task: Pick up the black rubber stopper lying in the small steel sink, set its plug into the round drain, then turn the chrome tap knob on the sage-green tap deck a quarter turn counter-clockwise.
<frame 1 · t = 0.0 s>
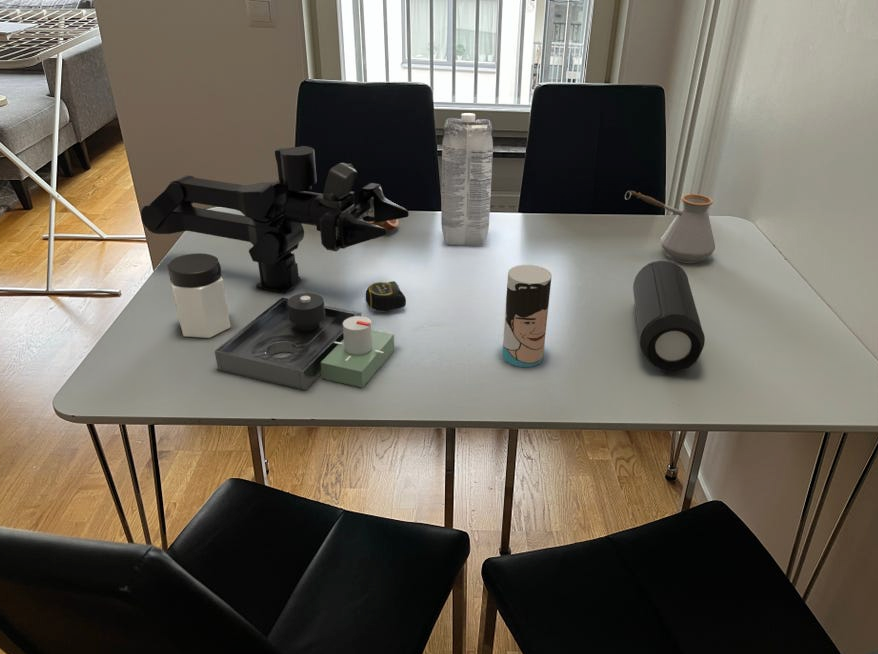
hand: (397, 222, 121), 17 cm above the table, tool horizontal, fingers open, 9 cm apart
cup: (522, 357, 117), on the table
tape measure: (388, 306, 131), on the table
stopper: (308, 325, 119), point 2 cm above the table, touching sink
tap knob: (357, 334, 110), point 5 cm above the table, hinge at 0.0°
jar: (205, 327, 122), on the table
sink: (293, 349, 117), resting in sink rim
fruit slice: (383, 231, 161), on the table
coffee pot: (663, 257, 153), on the table
portable speaker: (660, 338, 123), on the table
tap deck: (359, 363, 113), on the table
sink rim: (293, 349, 117), on the table
juice carton: (464, 240, 158), on the table
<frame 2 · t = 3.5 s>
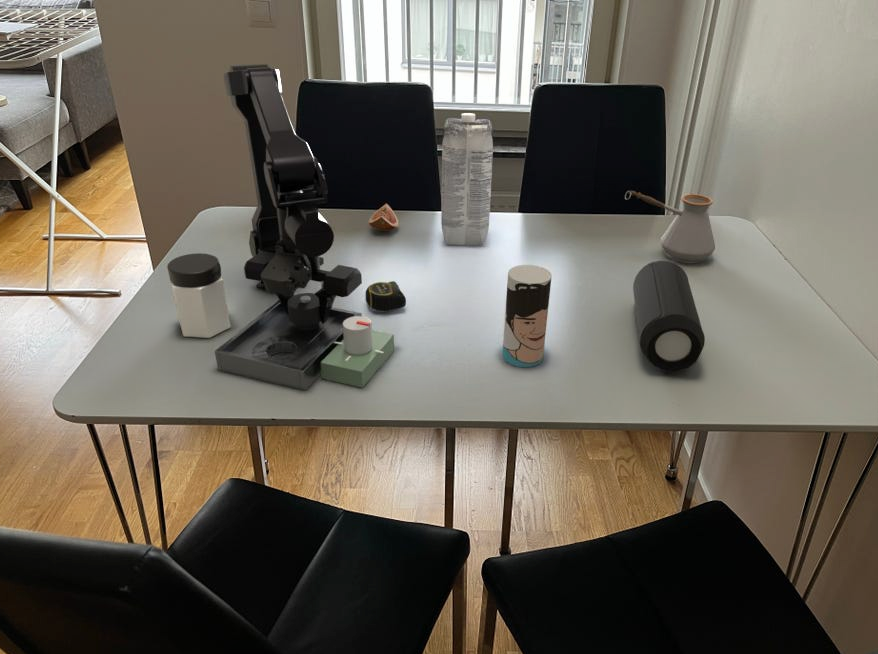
hand: (307, 319, 119), 3 cm above the table, tool pointing down, fingers closed on stopper, 6 cm apart
stopper: (308, 325, 119), point 2 cm above the table, touching gripper, sink
everything else where it was.
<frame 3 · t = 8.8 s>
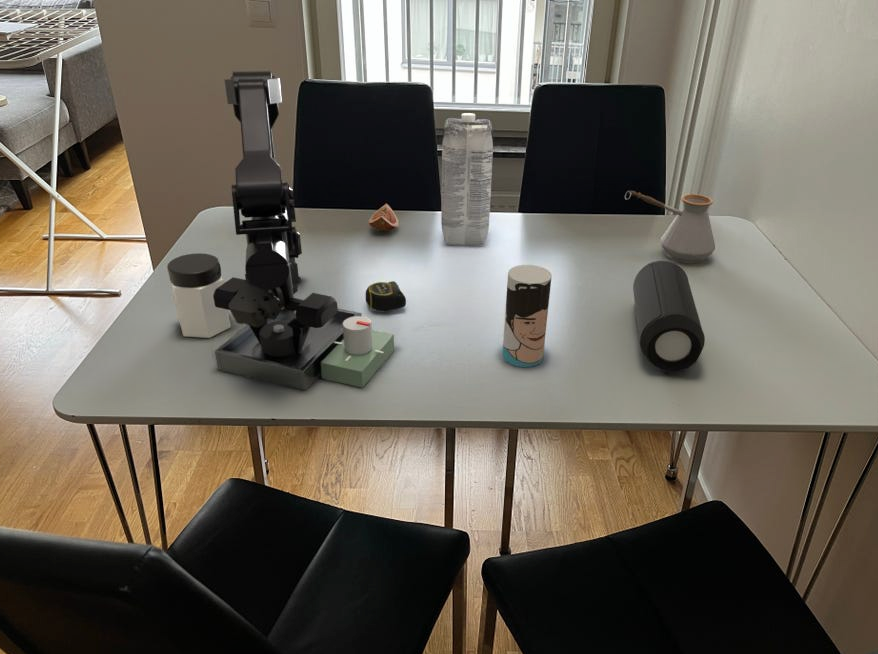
hand: (281, 348, 113), 2 cm above the table, tool pointing down, fingers closed on stopper, 6 cm apart
stopper: (282, 355, 113), point 1 cm above the table, touching gripper
everything else where it was.
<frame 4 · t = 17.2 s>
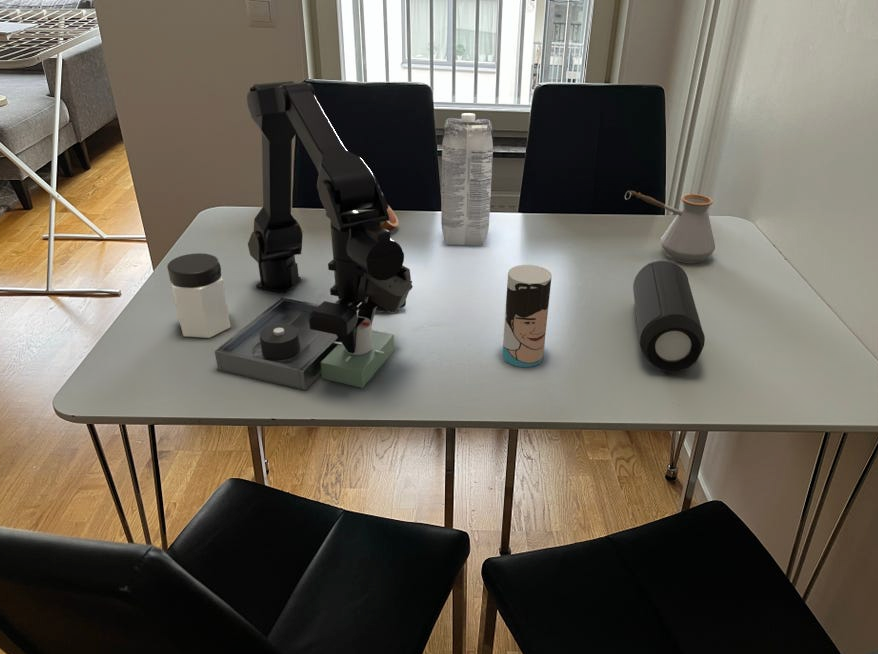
hand: (358, 345, 111), 4 cm above the table, tool pointing down, fingers closed on tap knob, 4 cm apart
stopper: (282, 357, 113), resting in sink
tap knob: (357, 334, 110), point 5 cm above the table, hinge at 0.0°, touching gripper
everything else where it was.
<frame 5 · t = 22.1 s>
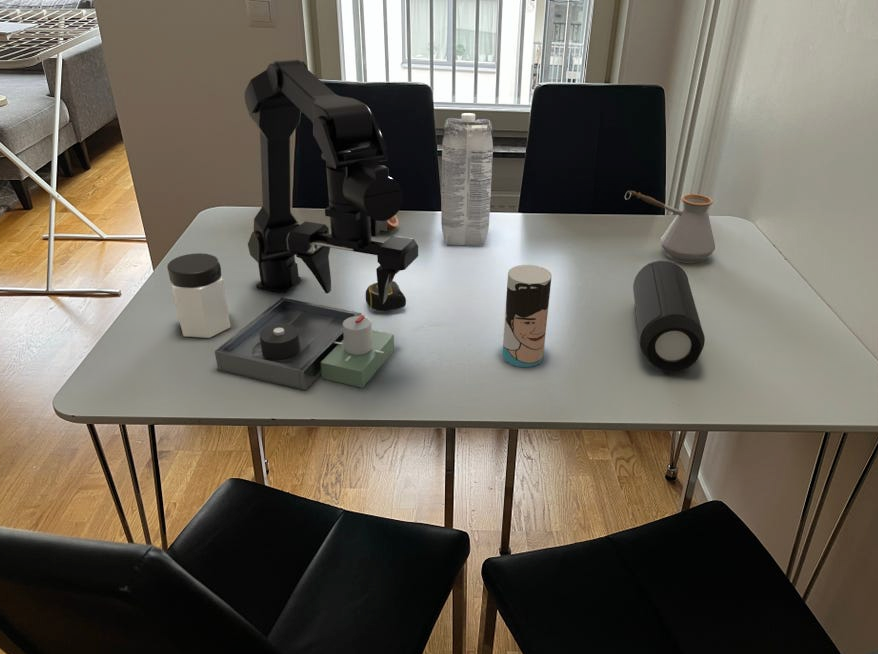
hand: (355, 297, 107), 12 cm above the table, tool pointing down, fingers open, 9 cm apart
tap knob: (357, 334, 110), point 5 cm above the table, hinge at 90.0°
everything else where it was.
at the end: stopper 0.0 cm from the target spot in the sink, point 0.4 cm above the sink's base; stopper tilted 0°; tap knob at +90° (first picture: +0°) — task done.
